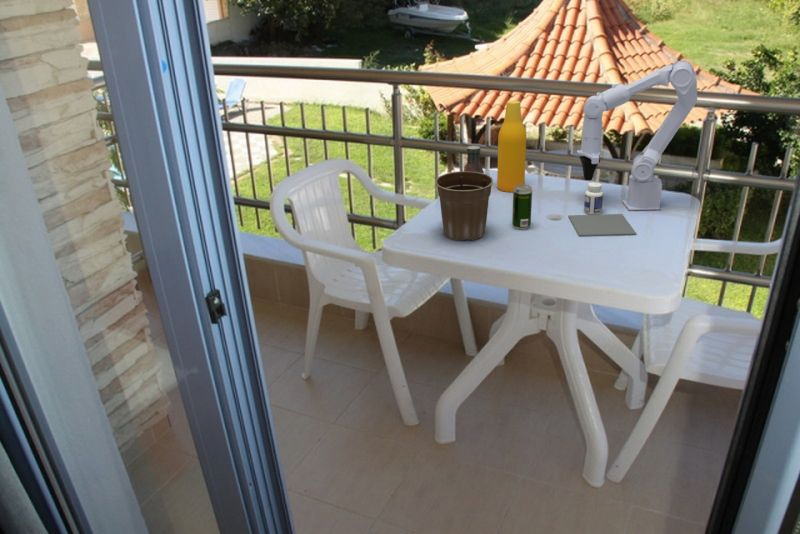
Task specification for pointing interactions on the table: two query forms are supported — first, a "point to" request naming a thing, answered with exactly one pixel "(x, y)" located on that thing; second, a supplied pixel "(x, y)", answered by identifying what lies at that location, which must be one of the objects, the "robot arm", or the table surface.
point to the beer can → (522, 207)
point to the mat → (601, 225)
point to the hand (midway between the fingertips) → (587, 179)
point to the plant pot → (464, 203)
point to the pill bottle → (593, 199)
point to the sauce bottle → (473, 160)
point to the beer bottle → (511, 149)
